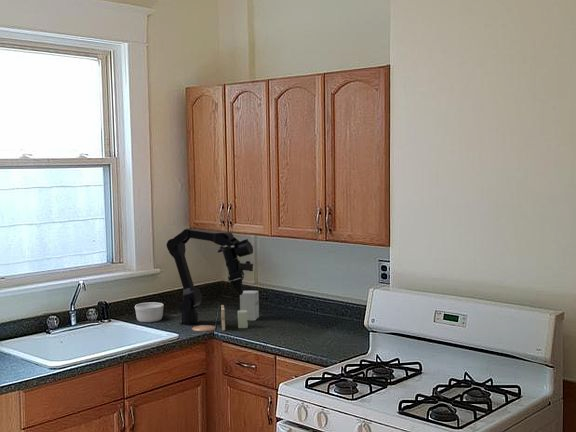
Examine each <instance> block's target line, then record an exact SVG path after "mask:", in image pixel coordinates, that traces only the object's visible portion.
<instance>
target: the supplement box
mask: <svg viewBox="0 0 576 432" xmlns="http://www.w3.org/2000/svg"><path fill="white" fill-rule="evenodd" d="M259 296H260V295H259V290H243V293H242V295H239V311H240V310H247V321H256V320H257V319H258V318H260V308H259V307H260V303H259V301H260V299H259Z"/></svg>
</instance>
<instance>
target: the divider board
mask: <svg viewBox="0 0 576 432" xmlns="http://www.w3.org/2000/svg"><path fill="white" fill-rule="evenodd" d="M220 312H221V329H222V331H226V321H225V320H226V319H225V318H226V315H225V306H224V304H221V305H220Z"/></svg>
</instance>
